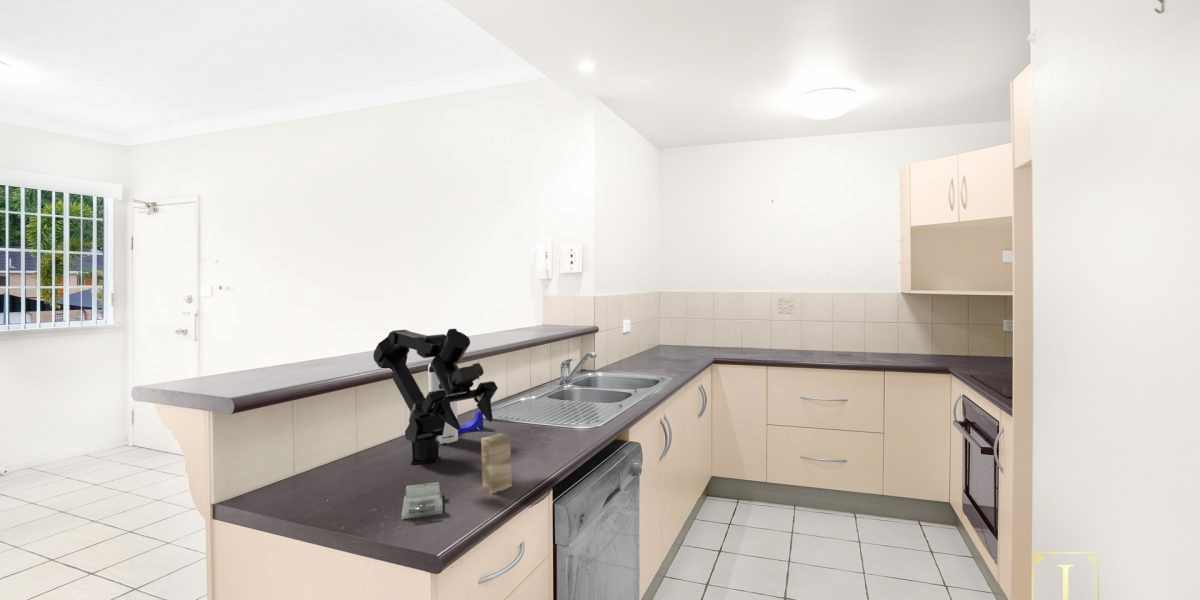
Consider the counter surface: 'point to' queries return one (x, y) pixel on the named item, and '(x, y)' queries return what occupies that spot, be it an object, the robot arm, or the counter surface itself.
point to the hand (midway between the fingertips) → (475, 424)
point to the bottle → (448, 428)
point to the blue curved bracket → (473, 423)
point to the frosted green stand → (422, 500)
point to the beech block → (496, 462)
